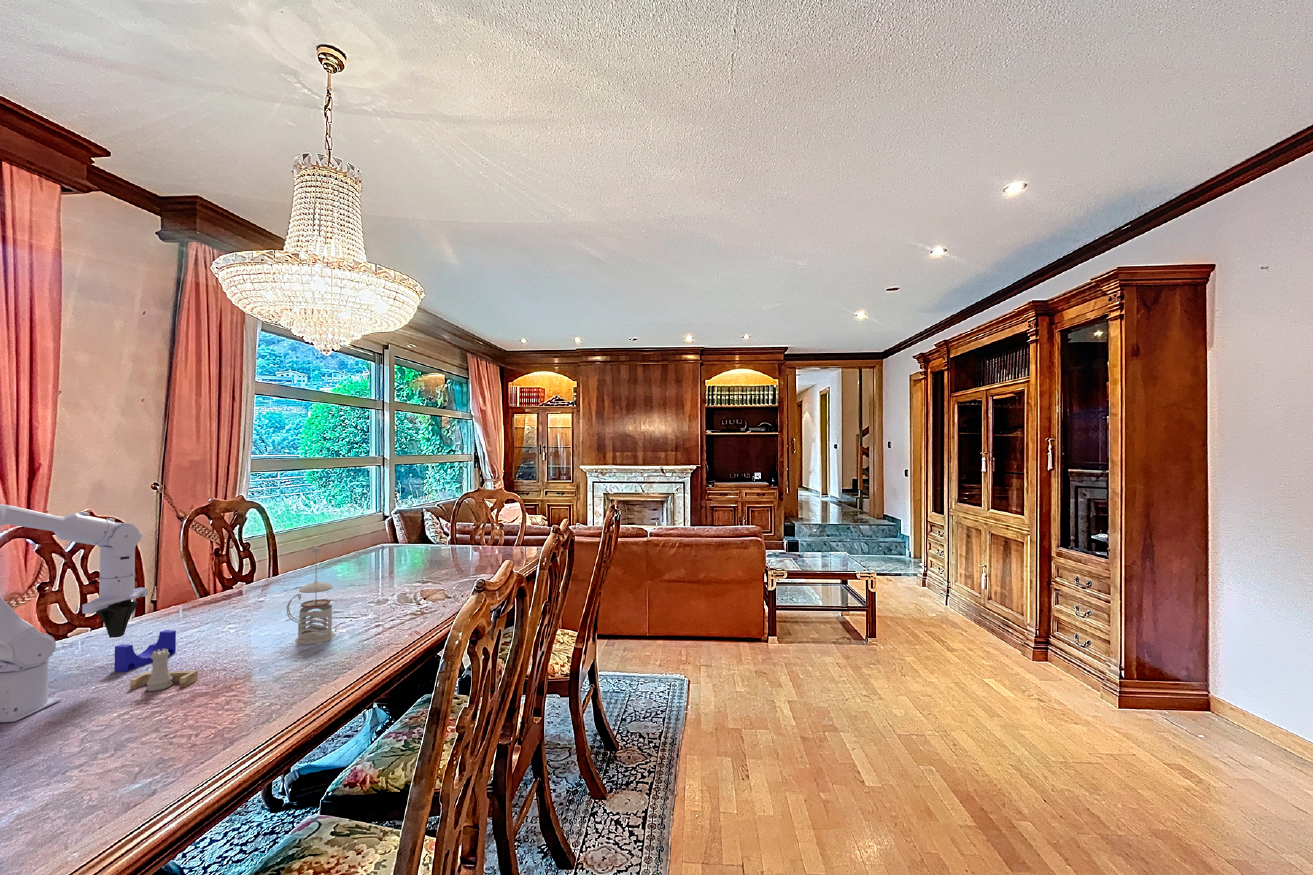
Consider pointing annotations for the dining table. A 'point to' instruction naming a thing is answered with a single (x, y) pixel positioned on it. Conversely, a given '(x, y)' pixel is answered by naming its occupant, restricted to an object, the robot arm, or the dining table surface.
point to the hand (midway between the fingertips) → (116, 636)
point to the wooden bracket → (178, 676)
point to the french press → (314, 614)
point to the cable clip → (130, 660)
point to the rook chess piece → (159, 671)
